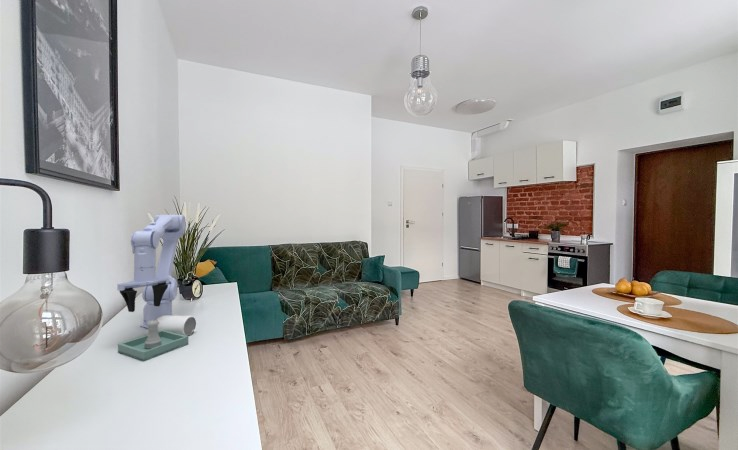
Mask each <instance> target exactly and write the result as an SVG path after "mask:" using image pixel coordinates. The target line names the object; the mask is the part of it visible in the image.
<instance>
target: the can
mask: <svg viewBox="0 0 738 450" xmlns="http://www.w3.org/2000/svg"><path fill="white" fill-rule="evenodd" d="M156 319H157V320H158V322H159V324H158V331H162V330H165V331H169V332H173V333H177V334H181V335H185V336H188V337H189V336H190V335H192V334H193V332H194V331H195V330H196V325H197V321H196V318H195V317H194V316H192V315H172V316H167V315H166V316H161V317H157V318H156ZM154 321H155V320H154Z"/></svg>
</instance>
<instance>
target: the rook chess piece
mask: <svg viewBox="0 0 738 450" xmlns="http://www.w3.org/2000/svg"><path fill="white" fill-rule="evenodd" d="M158 324H159V322H158V320H157V319H155V321H153V320H149V321H148V323H147V326H148V328H146V329H147V335H148V337H147V339H146V341H145V343H144V344H145V346H144V347H145V348H146V349H152V348H155V347H157V346H160V345H161V344H162V343H161V341H162V340H161V339H160V337H159V335H158Z"/></svg>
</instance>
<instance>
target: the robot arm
mask: <svg viewBox="0 0 738 450" xmlns="http://www.w3.org/2000/svg"><path fill="white" fill-rule="evenodd" d="M185 231H186V217H185V216H184V214H159V213H158V214H156V215H155V216H154V219H153V221H151V222H149V223H148V225H146V226H145V227H143V228H142V229H141V230H137V231H135V232H133V233H132V234H131V237H130V245H131V249H132V251H131V252H132V254H133V257H134V258H133V260H134V261H133V281H128V282H122V283H117V287H116V288H117V289H116V290H117V291H119V293H120V295H121V296H122V298H123V299H124V302H125V304H126V307H127V311H128V312H129V313H134V312H135V310H136V299H137V298H136V297H137V294H138V291H137V290H135V289H138V288H142V295H141V297H142V300H143V301H144V302H145V305H144V307H143V310H142V311H143V313H142V316H143V317H142V321H143V323H142V324H140V327H142V328H145V329H148V326H147V323H148V321H149V320H153V321H154V320H155V319H156V318H157V317H161V316H166V315H167V316H173V301H174V300H175V299H176V298H177V297H178V282H177V279H176V278H174V277H173V276H172V272H173V266H174V261H175V256H176V251H177V246H178V242H179V239H181V238H182V237H184V234H185ZM161 239H162V240H163V241H162V246H161V251H160V256H159V260H158V264H156V263H157V262H156V260H157V259H156V258H157V255H156V254H157V248H158V247H159V244H160V242H161ZM156 268H157V269H156Z"/></svg>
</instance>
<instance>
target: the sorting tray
mask: <svg viewBox="0 0 738 450" xmlns="http://www.w3.org/2000/svg"><path fill="white" fill-rule="evenodd" d="M158 335H159V337H160V339H161V340H162V341H161V343H162V344H161V345H160V346H157V347H155V348H152V349H146V348H145V347H144V346H145V344H144V343H145V341H146V339H147V337H148V334H146V335H143V336H140V337H136V338H133V339H129V340H127V341H125V342H124V341H123V342H120V343H117V353H119V354H121V355H123V356H127V357H130V358H133V359H136V360H139V361H142V362H146V361H148V360H151V359H154V358H156V357H159V356H161V355H164V354H168V353H169V352H172V351H174V350H178V349H179V348H182V347H184V346H188V345H189V335H188V336H185V335H181V334H177V333H173V332H169V331H165V330H162V331H158Z"/></svg>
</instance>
